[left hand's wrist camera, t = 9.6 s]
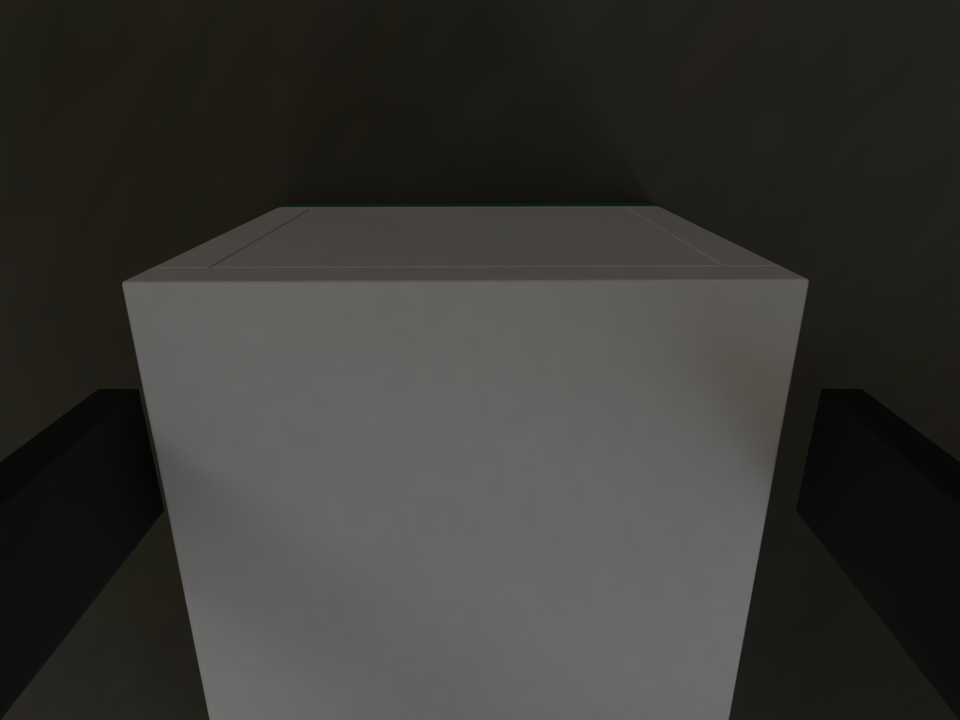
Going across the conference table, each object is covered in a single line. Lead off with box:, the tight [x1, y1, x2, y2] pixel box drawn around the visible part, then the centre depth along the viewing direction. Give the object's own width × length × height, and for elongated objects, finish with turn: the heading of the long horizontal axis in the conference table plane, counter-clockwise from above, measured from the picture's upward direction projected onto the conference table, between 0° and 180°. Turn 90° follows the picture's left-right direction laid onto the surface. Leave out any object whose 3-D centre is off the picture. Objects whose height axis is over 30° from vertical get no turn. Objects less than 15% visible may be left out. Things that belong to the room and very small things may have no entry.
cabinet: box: [122, 202, 809, 720], centre depth 19 cm, size 19×11×10 cm, turn 0°
